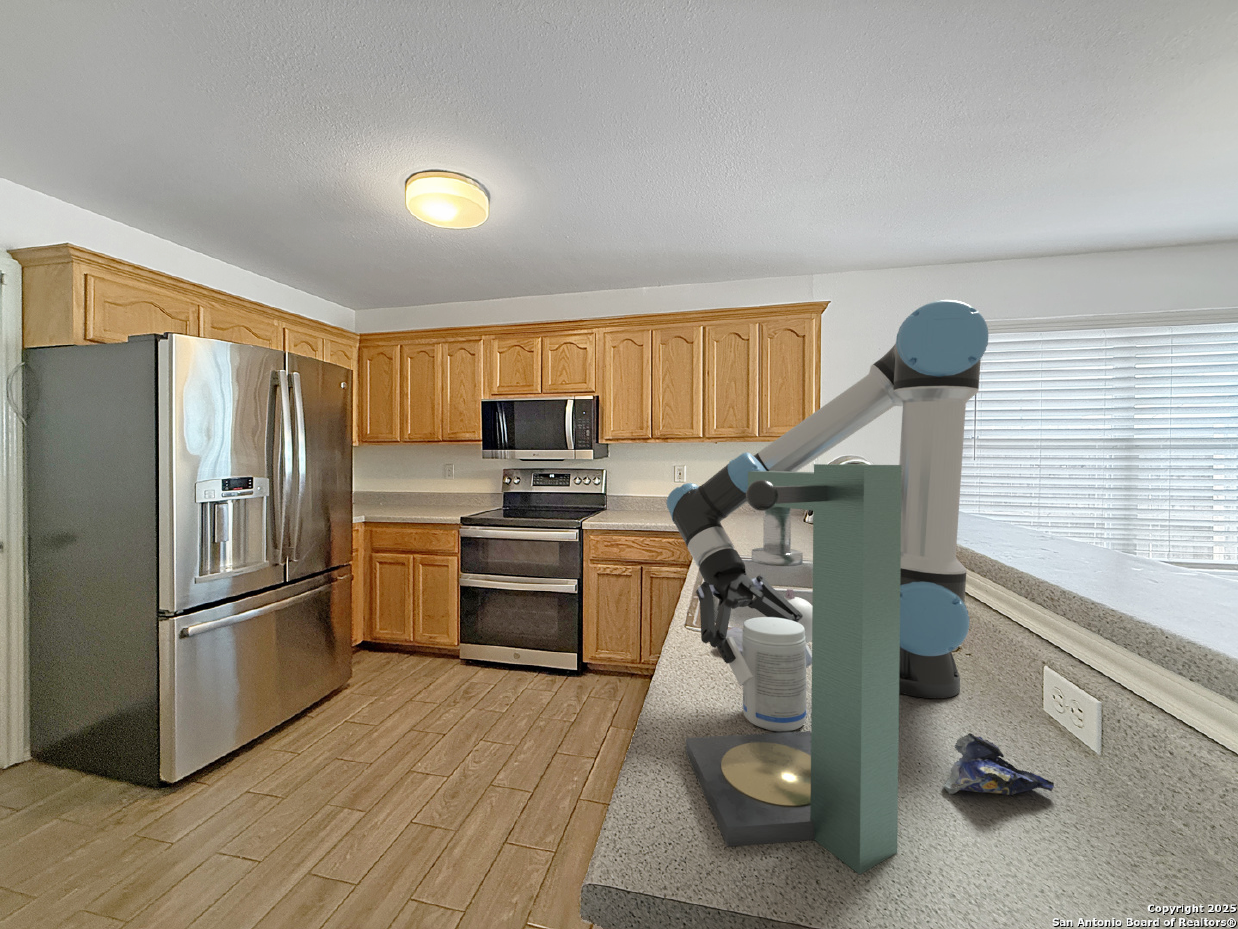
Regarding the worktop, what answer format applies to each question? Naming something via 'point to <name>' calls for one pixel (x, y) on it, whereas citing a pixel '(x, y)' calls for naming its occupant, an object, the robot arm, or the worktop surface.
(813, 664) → the arbor press
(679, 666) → the worktop surface
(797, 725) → the supplement tub
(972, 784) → the snack package
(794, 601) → the ornament
